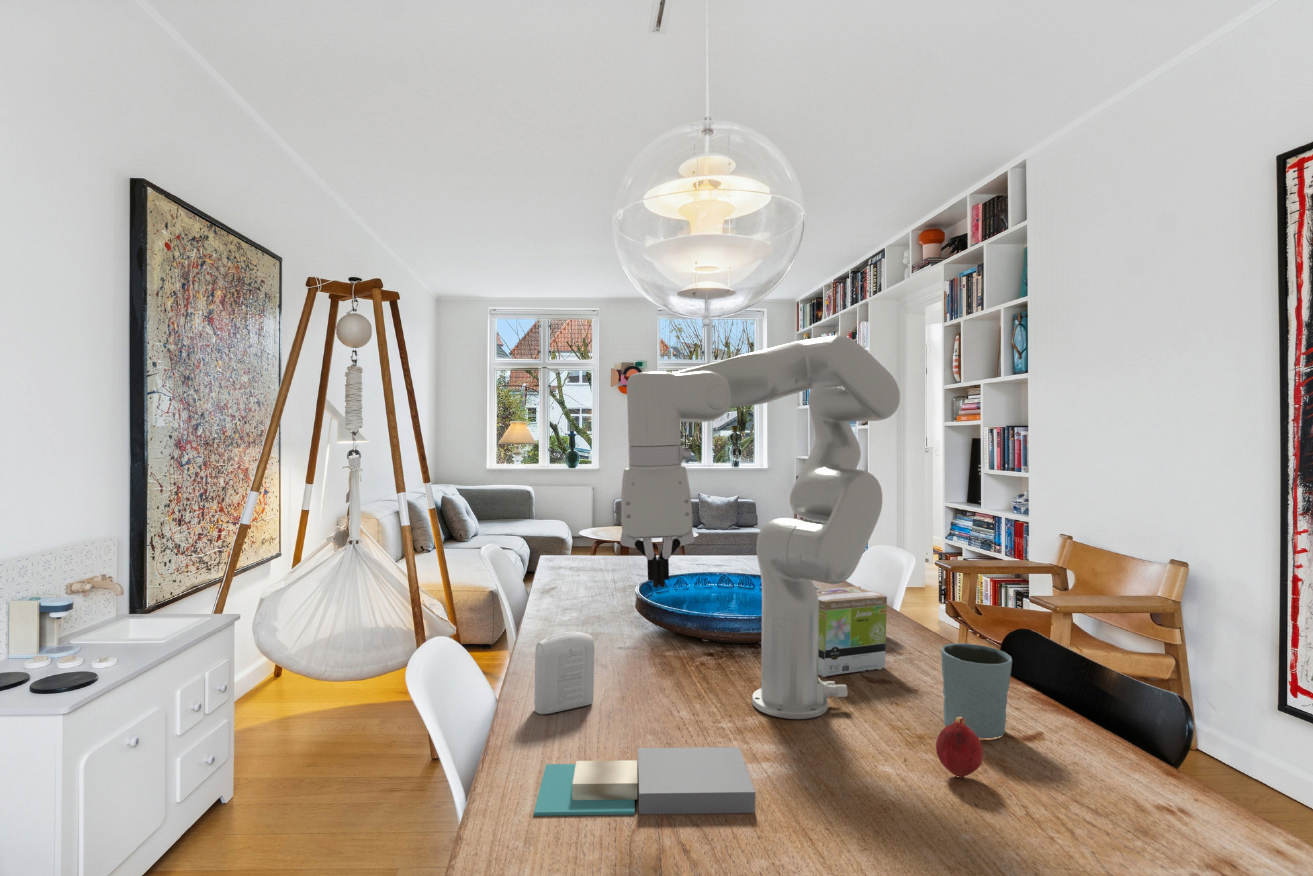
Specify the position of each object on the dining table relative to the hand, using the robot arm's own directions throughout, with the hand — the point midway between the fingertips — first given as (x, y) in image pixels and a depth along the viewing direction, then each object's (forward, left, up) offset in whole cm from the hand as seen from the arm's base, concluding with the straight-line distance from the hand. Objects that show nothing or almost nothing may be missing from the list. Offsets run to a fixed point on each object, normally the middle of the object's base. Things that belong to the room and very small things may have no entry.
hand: (658, 584), depth 98 cm
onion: (-40, +9, -24) cm, 48 cm away
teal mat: (+9, +11, -24) cm, 28 cm away
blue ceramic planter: (-50, -6, -24) cm, 56 cm away
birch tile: (+7, +11, -24) cm, 27 cm away
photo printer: (+15, -16, -24) cm, 33 cm away
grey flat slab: (-4, +11, -24) cm, 27 cm away
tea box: (-38, -36, -24) cm, 58 cm away
